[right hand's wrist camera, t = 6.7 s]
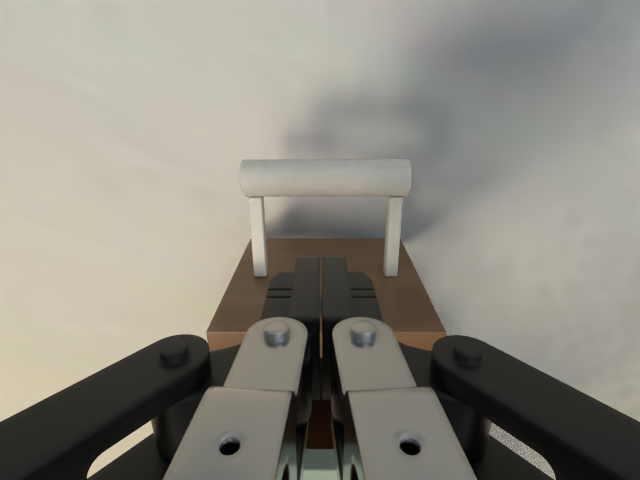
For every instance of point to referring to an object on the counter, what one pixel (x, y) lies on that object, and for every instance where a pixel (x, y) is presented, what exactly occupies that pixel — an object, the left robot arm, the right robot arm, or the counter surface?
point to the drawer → (361, 255)
